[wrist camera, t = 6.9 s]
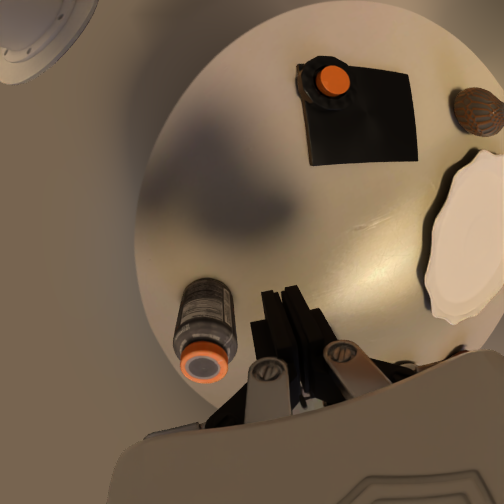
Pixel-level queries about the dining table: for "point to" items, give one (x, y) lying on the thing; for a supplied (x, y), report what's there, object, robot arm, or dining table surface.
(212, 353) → the pill bottle
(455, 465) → the robot arm
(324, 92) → the button
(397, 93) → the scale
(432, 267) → the plate
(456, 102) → the vase
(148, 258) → the dining table surface
